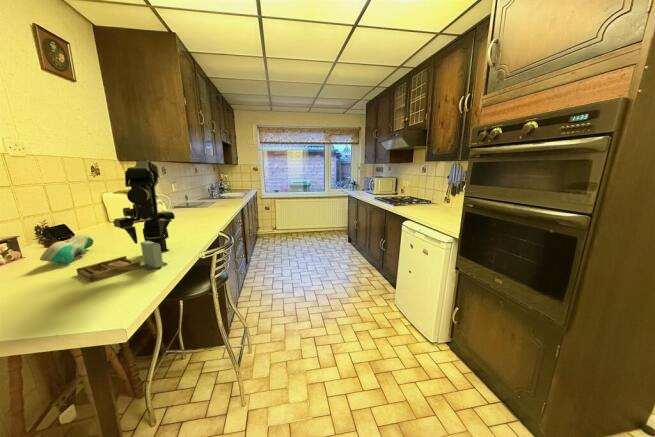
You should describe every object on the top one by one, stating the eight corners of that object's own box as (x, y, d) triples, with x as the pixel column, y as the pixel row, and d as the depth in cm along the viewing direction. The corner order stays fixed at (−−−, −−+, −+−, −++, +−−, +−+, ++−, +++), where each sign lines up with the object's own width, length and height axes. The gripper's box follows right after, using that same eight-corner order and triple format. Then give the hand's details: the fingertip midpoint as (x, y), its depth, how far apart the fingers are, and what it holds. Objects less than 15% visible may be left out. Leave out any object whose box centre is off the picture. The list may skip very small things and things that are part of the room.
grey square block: (151, 261, 103) (147, 240, 102) (163, 265, 99) (160, 244, 97) (144, 263, 101) (140, 242, 99) (156, 267, 97) (152, 245, 95)
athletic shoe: (60, 271, 98) (82, 245, 101) (32, 260, 95) (55, 233, 98) (90, 263, 122) (107, 242, 125) (68, 254, 119) (86, 232, 122)
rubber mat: (158, 261, 105) (158, 260, 105) (167, 264, 101) (167, 263, 101) (139, 267, 99) (139, 265, 99) (148, 270, 95) (148, 269, 95)
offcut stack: (123, 263, 103) (122, 259, 102) (132, 267, 99) (132, 263, 98) (107, 268, 98) (106, 263, 98) (116, 272, 94) (116, 268, 94)
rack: (126, 261, 105) (125, 256, 105) (140, 267, 99) (139, 261, 99) (77, 274, 92) (76, 268, 92) (90, 282, 86) (89, 275, 86)
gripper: (158, 197, 106) (163, 232, 110) (103, 202, 91) (111, 243, 94) (172, 198, 101) (177, 235, 104) (117, 204, 85) (124, 248, 88)
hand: (149, 240), depth 98 cm, fingers open, 9 cm apart
